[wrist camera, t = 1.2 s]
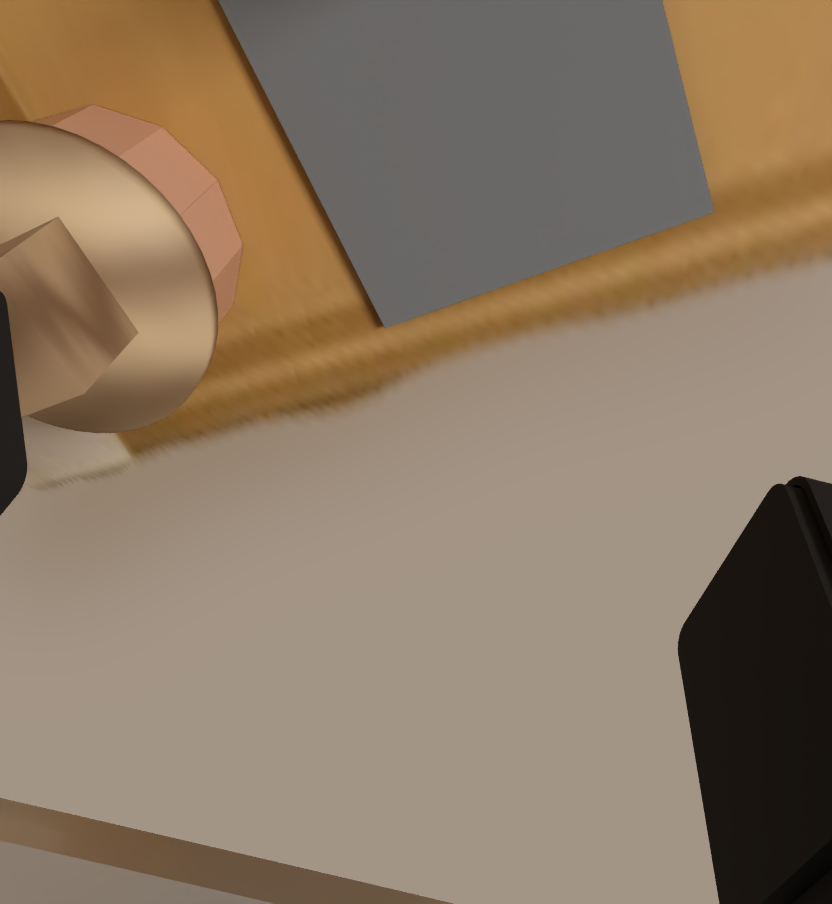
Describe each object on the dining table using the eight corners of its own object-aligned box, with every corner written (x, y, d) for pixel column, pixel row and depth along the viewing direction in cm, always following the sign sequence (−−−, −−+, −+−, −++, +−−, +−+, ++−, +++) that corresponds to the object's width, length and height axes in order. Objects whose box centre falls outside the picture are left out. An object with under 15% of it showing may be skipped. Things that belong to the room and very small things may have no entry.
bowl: (8, 304, 43) (-60, 360, 38) (-3, 73, 36) (-89, 105, 31) (223, 371, 44) (183, 434, 39) (255, 157, 36) (210, 201, 32)
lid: (276, 372, 36) (233, 449, 31) (46, 452, 41) (-22, 530, 36) (85, 58, 29) (-8, 96, 24) (-165, 199, 34) (-283, 254, 29)
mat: (386, 322, 40) (385, 328, 40) (219, -10, 33) (214, -8, 32) (712, 207, 35) (714, 212, 34) (604, -227, 27) (606, -229, 27)
